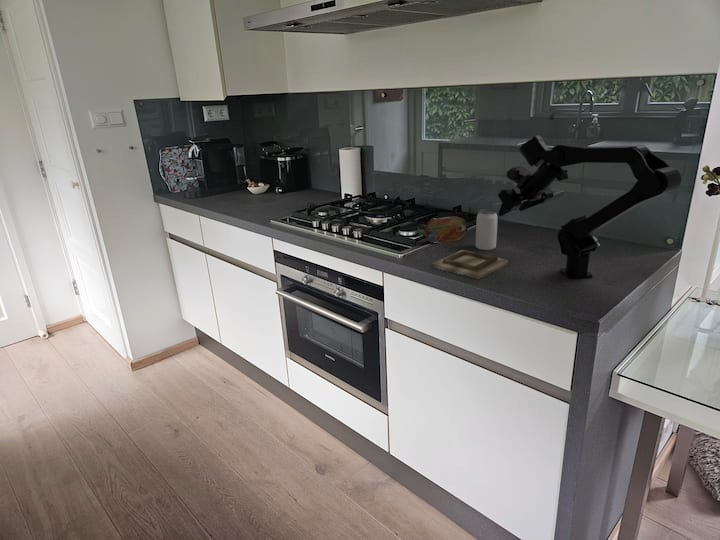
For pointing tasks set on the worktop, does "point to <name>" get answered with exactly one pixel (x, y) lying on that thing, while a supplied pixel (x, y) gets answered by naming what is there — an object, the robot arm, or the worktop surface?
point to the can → (486, 230)
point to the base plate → (470, 264)
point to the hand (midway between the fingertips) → (509, 212)
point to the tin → (446, 229)
